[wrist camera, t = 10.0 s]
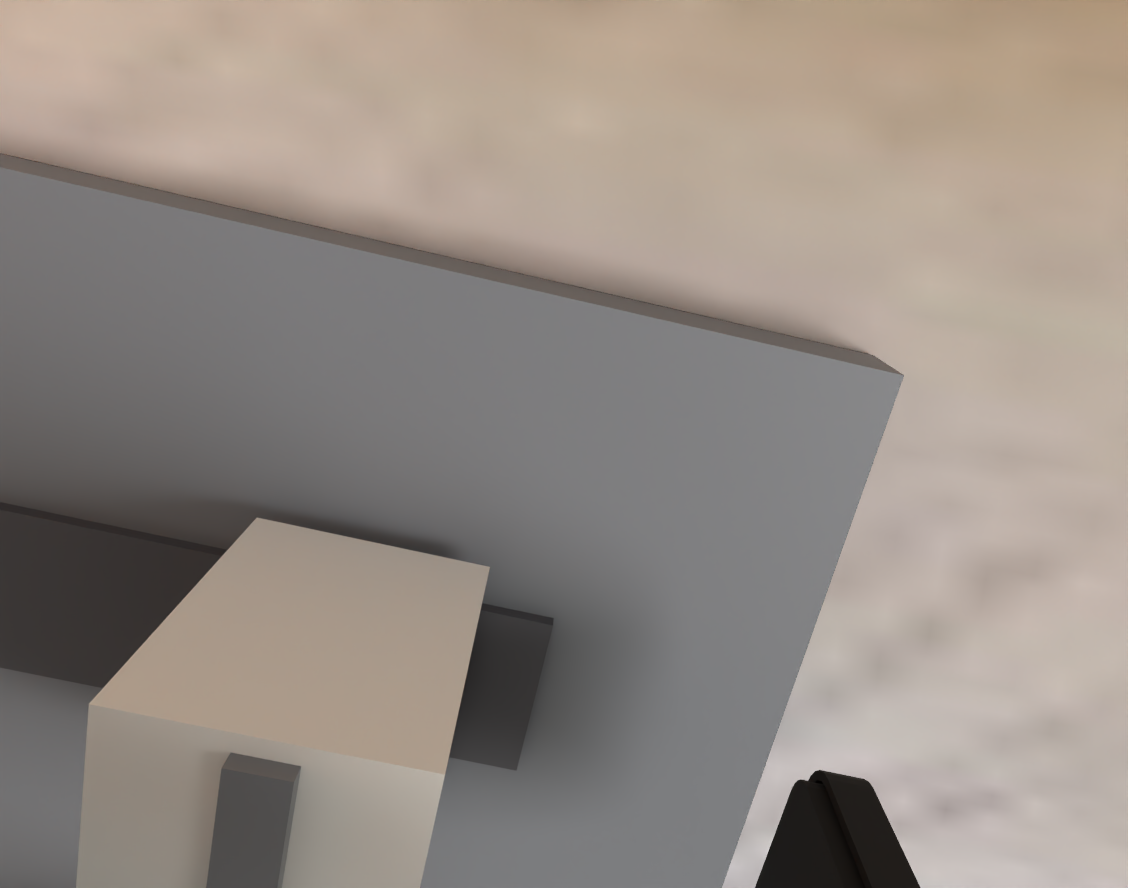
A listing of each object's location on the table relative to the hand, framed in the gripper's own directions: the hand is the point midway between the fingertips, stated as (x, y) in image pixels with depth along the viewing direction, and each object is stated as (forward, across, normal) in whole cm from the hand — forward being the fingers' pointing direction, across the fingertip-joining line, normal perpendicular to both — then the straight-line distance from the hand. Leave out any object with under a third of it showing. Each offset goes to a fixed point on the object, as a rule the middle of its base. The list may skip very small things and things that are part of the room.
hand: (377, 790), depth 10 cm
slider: (+2, +1, 0) cm, 3 cm away
